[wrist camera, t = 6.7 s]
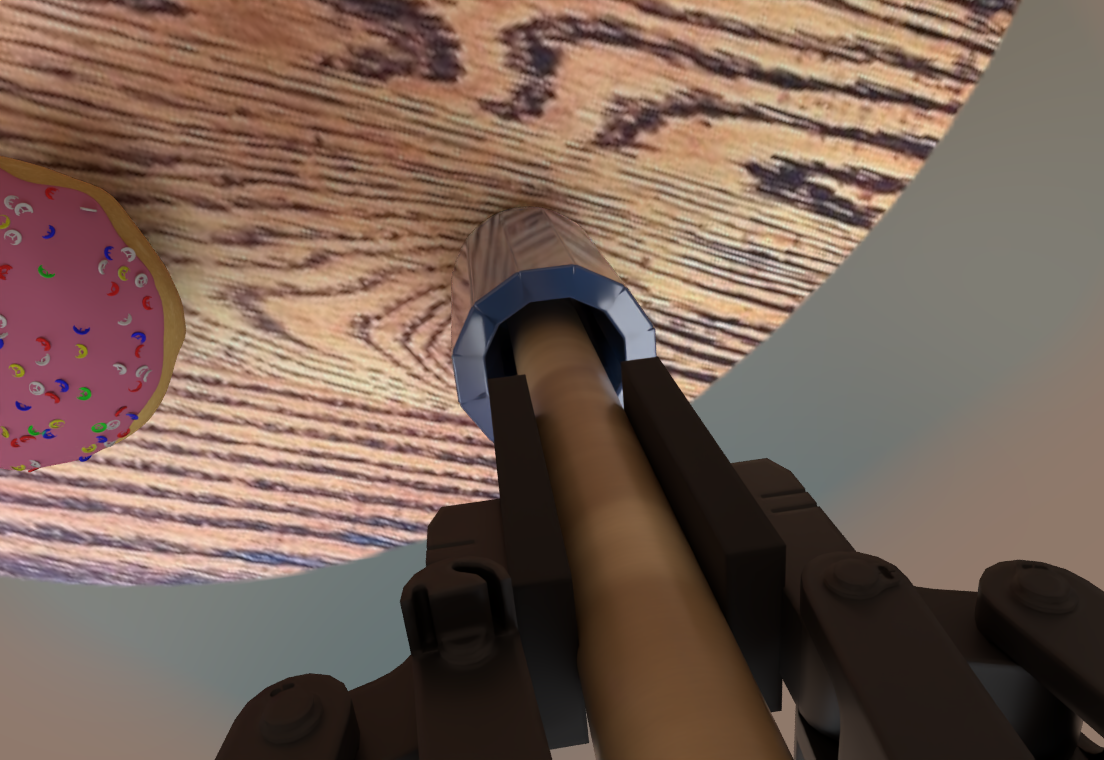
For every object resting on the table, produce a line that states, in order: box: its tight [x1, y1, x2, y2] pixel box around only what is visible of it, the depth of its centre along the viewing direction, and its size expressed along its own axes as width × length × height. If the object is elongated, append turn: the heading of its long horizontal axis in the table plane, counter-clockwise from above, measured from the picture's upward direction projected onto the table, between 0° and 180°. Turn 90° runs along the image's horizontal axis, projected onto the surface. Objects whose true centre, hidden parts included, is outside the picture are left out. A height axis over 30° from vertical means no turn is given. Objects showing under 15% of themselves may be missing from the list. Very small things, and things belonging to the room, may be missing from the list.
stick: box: [507, 298, 794, 760], centre depth 17 cm, size 2×2×20 cm
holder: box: [451, 207, 657, 443], centre depth 23 cm, size 5×5×8 cm
